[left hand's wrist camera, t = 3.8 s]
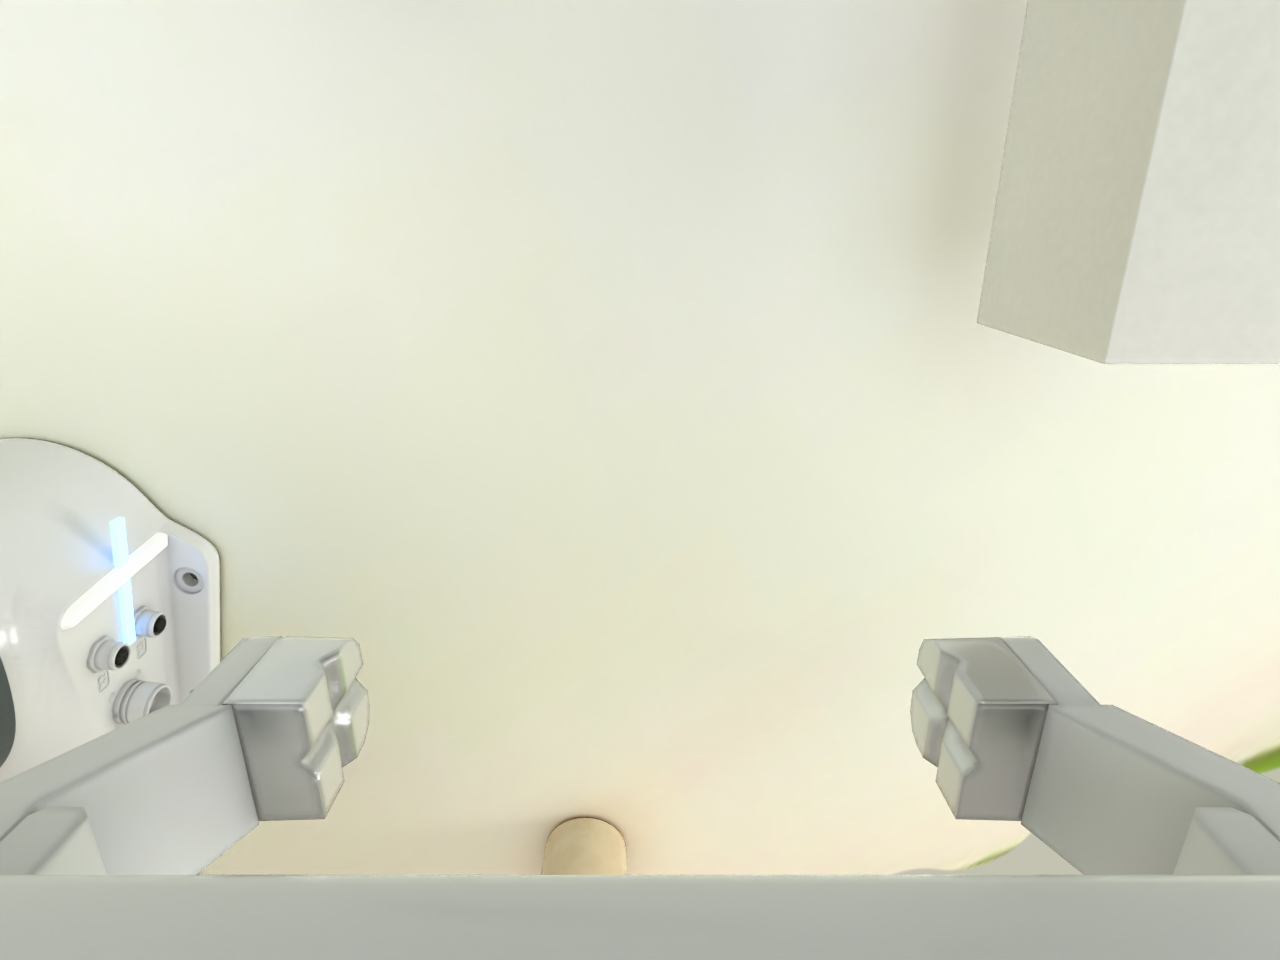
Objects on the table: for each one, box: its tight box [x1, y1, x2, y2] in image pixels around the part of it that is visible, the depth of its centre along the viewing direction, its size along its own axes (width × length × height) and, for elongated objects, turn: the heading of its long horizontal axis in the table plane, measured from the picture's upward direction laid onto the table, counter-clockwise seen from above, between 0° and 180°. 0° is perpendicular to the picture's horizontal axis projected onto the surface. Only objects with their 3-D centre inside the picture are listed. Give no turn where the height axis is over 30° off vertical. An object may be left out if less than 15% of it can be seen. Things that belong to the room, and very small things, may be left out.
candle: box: [541, 818, 626, 875], centre depth 44 cm, size 6×6×10 cm
